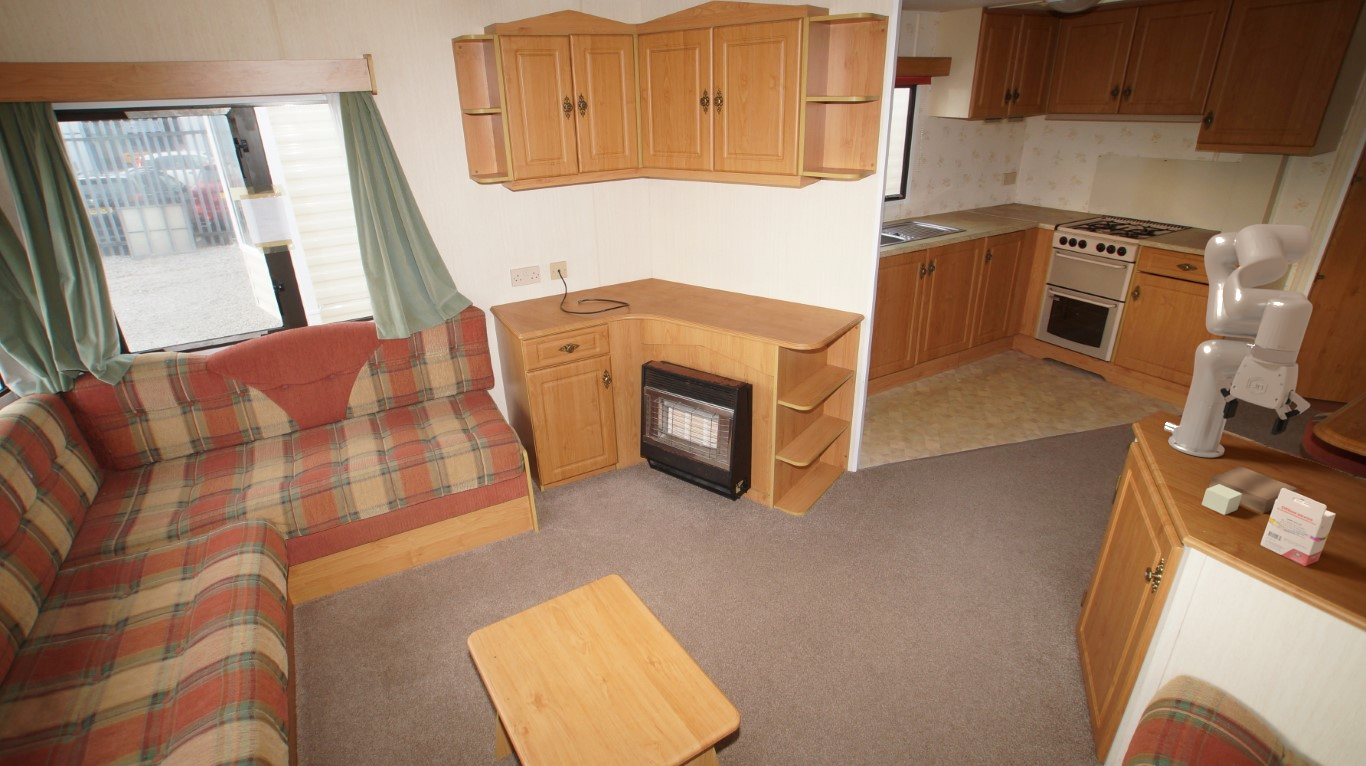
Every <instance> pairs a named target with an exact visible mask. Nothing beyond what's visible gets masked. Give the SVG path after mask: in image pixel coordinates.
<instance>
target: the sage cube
mask: <svg viewBox="0 0 1366 766" xmlns="http://www.w3.org/2000/svg"><path fill="white" fill-rule="evenodd" d="M1241 497H1242V493H1239V492H1237V491H1235V490H1232V489H1230V488H1228V487H1225V486H1223V485H1220V484H1218V485H1215V486H1213V487H1210V488H1209V487H1207V488H1206V489H1205V492H1204V496H1203V499H1202V502H1201V506H1204V507H1206V508H1208V509H1210V510H1212V511H1215V512H1217V513H1219V514H1221V515H1223V516H1225V515H1227V514H1230V513H1232V512H1235V511H1237V510H1238V508H1239V506H1240V500H1241Z"/></svg>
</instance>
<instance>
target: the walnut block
mask: <svg viewBox="0 0 1366 766" xmlns="http://www.w3.org/2000/svg"><path fill="white" fill-rule="evenodd" d="M1218 484H1220V485H1223V486H1225V487H1228V488H1230V489H1232V490H1235V491H1237V492H1239V493H1242V497H1241V500H1240V503H1239V505H1243V506H1245V507H1247V508H1249V509H1252V510H1255V511H1257V512H1258V513H1261V514H1266V513H1267V512H1270V511H1272V510H1273V507H1274V504H1275V501H1276V499H1277V498H1278V496H1279V493H1280V491H1281V489H1282V488H1286V489H1288V490H1290V491H1293V492H1295V493H1297V492H1298V491H1297V490H1298V487H1295V486H1293V485H1290V484H1287V483H1285V482H1282V481H1279V480H1277V479H1276V478H1275V479H1274V478H1272V477H1270V476H1267V475H1265V474H1262V473H1259V472H1256V471H1255V470H1252V469H1249V468H1247V467H1245V466H1238V467H1236V468H1233V469H1230V470H1227V471H1225V472H1224V471H1223V472H1222V473H1218V474H1216V475H1214V476H1212V477H1211V478H1210V482H1209V486H1208V488H1210V487H1213V486H1215V485H1218Z"/></svg>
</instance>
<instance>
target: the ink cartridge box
mask: <svg viewBox="0 0 1366 766" xmlns="http://www.w3.org/2000/svg"><path fill="white" fill-rule="evenodd" d="M1327 507H1328V506H1327V505H1326V504H1324V503H1321V502H1319V501H1316V500H1314V499H1312V498H1310V497H1308V496H1305V495H1302V494H1300V493H1298V492H1296V493H1295V492H1293V491H1290V490H1288V489H1286V488H1282V489H1281V491H1280V493H1279V496H1278V498H1277V499H1276V501H1275V504H1274V507H1273V509H1272V510H1271V512H1270V516H1269V519H1268V521H1267V525H1266V526H1265V527H1266V528H1265V530H1264V532H1263V536H1262V538H1261V541H1260V546H1261V547H1263V548H1266V549H1268V550H1269V551H1271V552H1273V553H1275V554H1278V555H1279V556H1282V557H1284V558H1286V559H1288V560H1290V561H1292V562H1294V563H1296V564H1298V565H1301V566H1303V567H1308V566H1310V565H1311V564H1314V563H1316V562H1318V561H1319V560H1320V557H1321V554H1322V553H1323V549H1324V547H1325V545H1326V542H1327V538H1328V537H1329V534H1330V532H1331V528H1332V526H1333V523H1334V521H1335V517H1336V513H1335V512H1332V511H1329V510H1327Z"/></svg>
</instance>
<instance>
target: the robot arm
mask: <svg viewBox="0 0 1366 766" xmlns="http://www.w3.org/2000/svg"><path fill="white" fill-rule="evenodd" d="M1313 246H1314V235H1313V233H1312V231H1311V230H1310V229H1309V228H1308V227H1307V226H1305V225H1301V224H1279V223H1278V224H1274V223H1271V224H1270V223H1258V224H1257V223H1256V224H1252V225H1248V226H1246V227H1243V228H1242V229H1241V230H1239V231H1232V232H1231V231H1230V232H1222V233H1221V232H1220V233H1217V234H1215V235H1212V237H1210V238H1209V240H1208V241H1207V243H1206V246H1205V248H1204V249H1205V250H1204V259H1203V260H1204V261H1203V262H1204V268H1205V272H1206V276H1207V279H1208V287H1209V288H1208V296H1207V297H1208V298H1207V303H1206V304H1207V306H1206V315H1205V328H1206V330H1207V332H1208V333H1210V334H1211V335H1215V336H1222V337H1228V338H1229V337H1231V338H1239V339H1240V338H1241V339H1250V340H1251V339H1252V340H1254V342H1249V341H1248V342H1247V341H1241V340H1230V339H1209V340H1204V341H1202V342H1201V343H1199V344H1198V346H1197V347H1196V350H1195V354H1194V363H1193V364H1194V365H1193V374H1192V379H1191V383H1190V387H1189V391H1188V394H1187V397H1186V401H1185V404H1184V409H1183V413H1182V416H1181V420H1180V423H1179V424H1176V423H1174V422H1171V421H1166V423H1165V424H1164V428H1163V429H1164V431H1165V432H1169V433H1171V435H1170V436H1169V438H1168V444H1169V446H1170V447H1172V448H1173V449H1174V450H1177V451H1179V452H1182V453H1184V454H1187V455H1191V456H1194V457H1195V456H1196V457H1200V458H1218V457H1221V456H1223V455H1224V454H1225V447H1224V446H1223V445H1222V444H1221V443H1220V441H1221V439H1222V435H1223V432H1224V429H1225V425H1226V422H1227V419H1232V418H1235V416H1236V413H1237V410H1238V406H1239V404H1240V403H1239V402H1240V401H1239V400H1241V401H1244V402H1247V403H1251V404H1253V405H1257V406H1260V407H1264V408H1267V409H1272V410H1275V413H1277V415H1278V417H1276V418H1275V419H1274V422H1273V425H1272V427H1271V428H1272V429H1271V431H1270V434H1271V435H1273V436H1277V435H1280V434H1283V433H1284V432H1285V431H1287V427H1288V425H1289V422H1290V419H1291V418H1294V417H1295V416H1296V417H1297V416H1299V415H1302V413H1304V412H1305V411H1307V410H1308V409H1310V407H1311V403H1310V402H1308V401H1307V400H1306V399H1305V398H1304V397H1302V396H1301V395H1299V394H1298V393H1297V392H1296V389H1297V383H1298V377H1299V364H1298V363H1297V358H1298V355H1299V353H1300V349H1301V346H1302V343H1303V340H1304V338H1305V334H1306V331H1307V328H1308V325H1309V322H1310V319H1311V316H1312V313H1313V310H1314V309H1313V304H1312V303H1311V302H1310V300H1309V299H1308V298H1307V296H1306V295H1305V294H1304V293H1303V292H1300V291H1295V290H1283V289H1282V290H1281V289H1270V288H1268V289H1267V288H1256V287H1259V286H1264V285H1268V284H1271V283H1273V282H1275V281H1277V280H1280V279H1281V278H1282V277H1284V275H1286V273H1287V272H1288V270H1289V265H1292V264H1296V263H1298V262H1300V261H1302V260H1304V259H1306V258H1307V257H1308V255H1310V253H1311V251H1312V249H1313ZM1237 266H1239V267H1237ZM1292 402H1293V403H1294V404H1296V407H1295V408H1294V409H1291V407H1290V406H1291V404H1292Z"/></svg>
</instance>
